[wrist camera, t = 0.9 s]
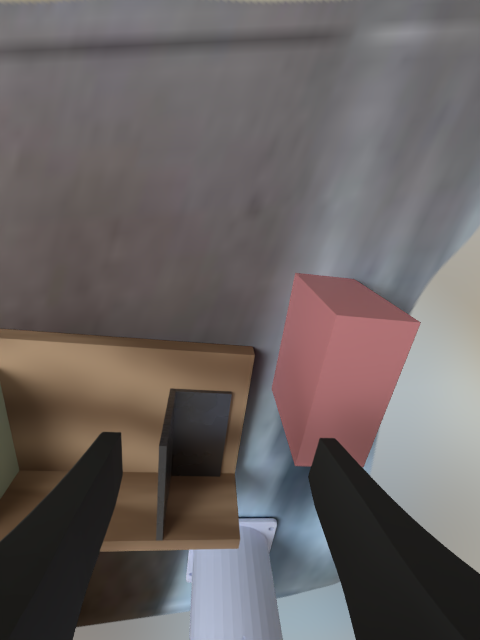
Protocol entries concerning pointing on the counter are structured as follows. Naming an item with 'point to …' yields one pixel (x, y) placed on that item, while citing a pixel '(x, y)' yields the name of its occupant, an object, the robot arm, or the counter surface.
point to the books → (6, 450)
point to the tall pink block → (338, 364)
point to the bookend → (190, 440)
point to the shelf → (120, 429)
